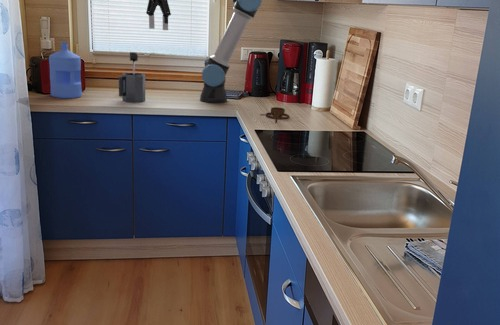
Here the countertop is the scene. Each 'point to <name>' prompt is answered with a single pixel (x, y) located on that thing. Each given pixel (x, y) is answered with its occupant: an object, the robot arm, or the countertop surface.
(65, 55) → the water jug
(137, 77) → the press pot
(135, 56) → the plunger
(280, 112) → the place setting
